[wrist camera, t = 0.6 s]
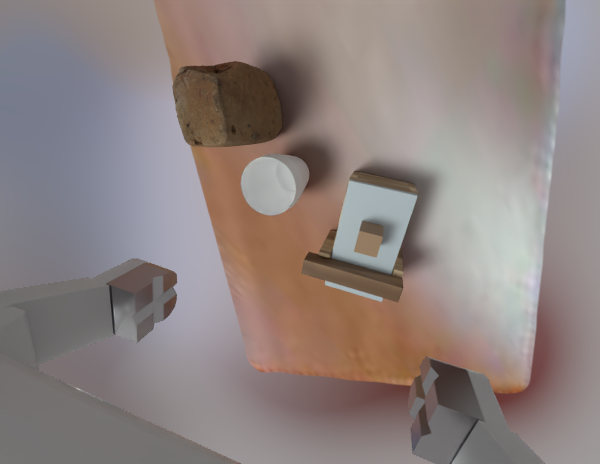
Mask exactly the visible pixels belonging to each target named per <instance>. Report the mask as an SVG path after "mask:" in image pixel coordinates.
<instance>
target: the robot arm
mask: <svg viewBox="0 0 600 464" xmlns="http://www.w3.org/2000/svg"><path fill="white" fill-rule="evenodd" d="M176 283H177V274H176V273H175V272H173V271H171V270H168V269H165V268H163V267H160V266H157V265H155V264H152V263H148V262H146V261H143V260H140V259H131V260H128V261H126V262H124V263H122V264H121V265H118V266H116V267H114V268H112V269H110V270H108V271H106V272H104V273H102V274H100V275H98V276H96V277H94V278H92V279H90V278H81V279H74V280H68V281H61V282H55V283H48V284H42V285H36V286H29V287H23V288H17V289H10V290H4V291H0V464H241V463H238V462H236V461H234V460H232V459H230V458H228V457H225V456H223V455H221V454H219V453H217V452H215V451H212V450H210V449H208V448H206V447H204V446H202V445H199V444H197V443H195V442H193V441H191V440H189V439H186V438H184V437H182V436H180V435H178V434H176V433H173V432H171V431H169V430H167V429H165V428H163V427H160V426H158V425H156V424H154V423H152V422H150V421H147V420H145V419H143V418H141V417H139V416H137V415H135V414H132V413H130V412H128V411H126V410H124V409H121V408H119V407H117V406H115V405H113V404H111V403H109V402H106V401H104V400H102V399H100V398H98V397H96V396H94V395H91V394H89V393H87V392H85V391H83V390H81V389H78V388H76V387H74V386H72V385H70V384H68V383H65V382H63V381H61V380H59V379H56V378H55V377H52V376H50V375H48V374H46V373H44V372H42V371H39V368H38V365H40V364H42V363H45V362H47V361H50V360H52V359H55V358H57V357H60V356H63V355H65V354H68V353H70V352H73V351H75V350H78V349H81V348H83V347H86V346H88V345H91V344H93V343H96V342H99V341H101V340H104V339H106V338H109V337H111V336H113V335H114V334H115V335H118V336H120V337H123V338H126V339H129V340H131V341H134V342H136V343H137V342H139V341H140V340H141V339H142V338H143V337H144V336H146V335H147V334H148V333H149V332H150V331H152V330H153V328H154V323H157V322H160V321H163V320H164V319H166V318H167V317H168V316H169V315H170V313H171V312H172V310H173V309H174V307H175V304H176V300H177V294H176V292H175V290H174V288H173V287H174V285H175V284H176ZM420 371H421V375H420V376H418V377H415V378H414V381H413V383H412V386H411V389H410V394H409V414H410V415H411V417H412V418H413V419H414V422H413V424H412V426H411V428H410V429H411V441H412V452H413V454H414V455H417V456H419V457H421V458H424V459H426V460H428V461H431V462H433V463H435V464H545V463H544V462H543V461H542V460H541V459H540V458H539V457H538V456H537V455H536V454H535V453H534V451H533V450H532V449H531V448H530V447H529V446H528V445H527V444H526V443H525V442H524V441H523V440H522V439H521V438H520V437H519V436H518V435H517V434H516V433H513V432H510V430H509V428H508V425H507V423H506V421H505V418H504V416H503V413H502V411H501V409H500V407H499V404H498V401H497V399H496V397H495V394H494V392H493V390H492V387H491V385H490V382H489V380H488V378H487V377H486V376H485V375H484V374H481V373H478V372H475V371H472V370H468V369H465V368H464V369H463V368H460V367H457V366H454V365H451V364H448V363H445V362H442V361H439V360H436V359H433V358H430V357H427V356H426V357H425V358H424V359H423V361H422V363H421V365H420Z"/></svg>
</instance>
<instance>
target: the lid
mask: <svg viewBox="0 0 600 464" xmlns="http://www.w3.org/2000/svg"><path fill="white" fill-rule="evenodd" d="M417 197H418V195H417V194H414V193H410V192H405V191H401V190H396V189H392V188H387V187H383V186H378V185H374V184H369V183H365V182H360V181H356V180H352V179H350V180H349V184H348V188H347V193H346V197H345V201H344V205H343V210H342V214H341V218H340V222H339V227H338V231H337V235H336V239H335V243H334V248H333V252H332V256H331V258H332V259H336V260H339V261H343V262H347V263H350V264H354V265H357V266H361V267H364V268H368V269H371V270H375V271H379V272H382V273H386V274H389V275H391V273H392V270H393V267H394V264H395V262H396V259H397V256H398V253H399V250H400V247H401V244H402V241H403V238H404V235H405V232H406V229H407V226H408V223H409V220H410V217H411V214H412V212H413V209H414V206H415V203H416V200H417ZM325 285H328V286H331V287H334V288H337V289H341V290H344V291H347V292H351V293H354V294H357V295H361V296H364V297H367V298H371V299H374V300H377V301H381V302H382V300H383V298H382V297H378V296H375V295H372V294H368V293H365V292H362V291H358V290H355V289H352V288H348V287H345V286H342V285H338V284H335V283H332V282H328V281H326V282H325Z"/></svg>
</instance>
